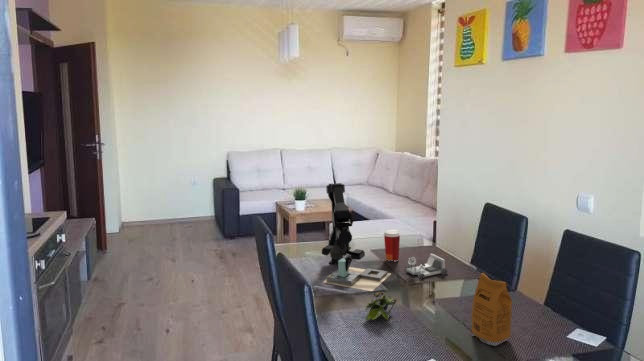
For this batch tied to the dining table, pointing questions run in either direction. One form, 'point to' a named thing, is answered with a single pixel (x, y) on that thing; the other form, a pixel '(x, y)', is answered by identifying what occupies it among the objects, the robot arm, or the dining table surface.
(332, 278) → the port block
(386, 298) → the green leafy plant
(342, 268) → the plug
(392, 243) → the coffee cup
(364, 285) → the patch board
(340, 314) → the dining table surface
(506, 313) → the coffee package
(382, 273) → the gray square frame
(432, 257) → the toy car
